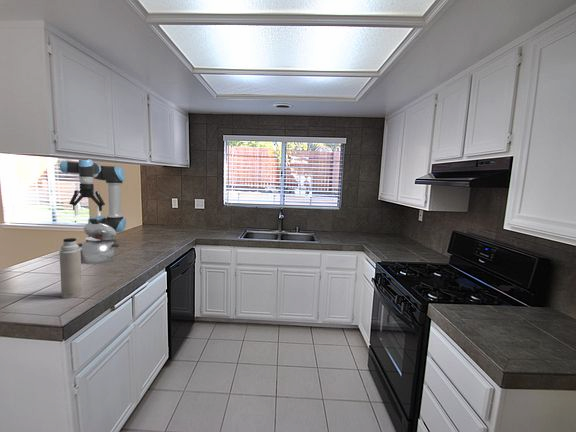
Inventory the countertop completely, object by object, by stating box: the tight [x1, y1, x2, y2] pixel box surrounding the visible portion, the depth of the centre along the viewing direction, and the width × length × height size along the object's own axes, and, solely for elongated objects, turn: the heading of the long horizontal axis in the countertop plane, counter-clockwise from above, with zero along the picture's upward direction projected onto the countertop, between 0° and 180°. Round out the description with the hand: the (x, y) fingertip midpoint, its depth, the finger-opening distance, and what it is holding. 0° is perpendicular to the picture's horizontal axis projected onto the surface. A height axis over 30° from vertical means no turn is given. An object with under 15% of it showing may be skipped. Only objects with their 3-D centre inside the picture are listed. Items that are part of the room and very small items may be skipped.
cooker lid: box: [83, 219, 117, 241], centre depth 198 cm, size 23×19×4 cm
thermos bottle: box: [59, 237, 83, 299], centre depth 139 cm, size 8×8×28 cm
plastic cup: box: [84, 237, 99, 242], centre depth 211 cm, size 11×11×12 cm
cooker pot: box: [76, 240, 120, 265], centre depth 197 cm, size 18×25×12 cm
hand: (87, 215), depth 191 cm, fingers open, 13 cm apart
